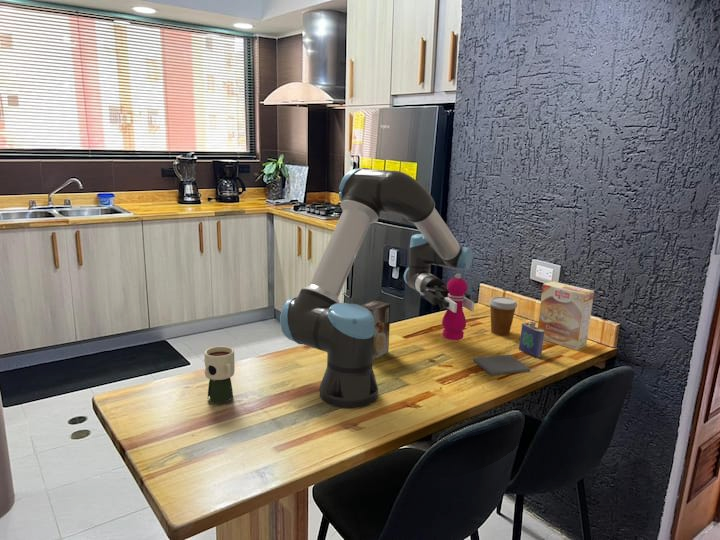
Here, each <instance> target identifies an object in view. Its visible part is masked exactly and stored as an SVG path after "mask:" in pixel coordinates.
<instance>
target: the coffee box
mask: <svg viewBox="0 0 720 540" xmlns="http://www.w3.org/2000/svg"><path fill="white" fill-rule="evenodd" d="M391 304H392V303H388V302H385V301H379V300H375V299H374V300H371V301H368V302H366V303H363V304H359V305H360V306H362V307H365V308H366V309H368V310H369V311H370V312H371V313H372V314H373V317H374V327H375V333H374V346H373V361H374V360H376V359H377V358H379V357H382V356H384V355H386V354H388V353H389V347H390V346H389V345H390V344H389V343H390V329H391V327H390V325H391V322H390V321H391Z"/></svg>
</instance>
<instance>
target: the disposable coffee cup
mask: <svg viewBox="0 0 720 540" xmlns="http://www.w3.org/2000/svg"><path fill="white" fill-rule="evenodd" d="M488 303H489V306H490V307H489V308H490V309H489V310H490V332H491V333H492V334H494V335H495V336H496V335H497V336H509V335H510V332H511V327H512V323H513V319H514V315H515V312H516V309H517V307H518V304H517V300H516V299H515V298H511V297H508V296H493V297H491V298H490V300H489V301H488Z"/></svg>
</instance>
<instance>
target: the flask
mask: <svg viewBox="0 0 720 540" xmlns="http://www.w3.org/2000/svg"><path fill="white" fill-rule="evenodd" d="M536 324H537V322H536V321H533V320H532V321H529V322H522V324H521V329H520V330H521V331H520V337H519V338H520V339H519V345H518V350H519V351H521V352H523V353H524V354H527V355H528V356H531V357H533V358H536V359H540V358H542V354H543V346H544V340H543V338H544V330H542V329H539V328H538V326H536Z"/></svg>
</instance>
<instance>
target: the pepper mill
mask: <svg viewBox="0 0 720 540" xmlns="http://www.w3.org/2000/svg"><path fill="white" fill-rule="evenodd" d="M446 287H447V290H448V291H449V293H448V298H449V299H450V300H452V301H454V302H455V303H457V310H456V312H455V313H454V312H452V311H451V310H449V309H448V308H447V310H446V312H445V313H444V315H443V316H442V317H443V318H442V320H441V326H442V327H443V328H444V329H443V330H442V337H443V338H445V339H446V340H451V341H460V340H463V339H464V334H465V333H464V331H463V330H464V329H465V328H466V327H467V319H466V316H465V313H464V309H463V308H464V307H463V306H462V303H463V300H464V299H465V298H464V297H465V295H464V293H467V291H468V284H467V282H466V280H464V279H462V275H461V273H459V272H458V273H456V274H455V275H454V278H451V279H450V280H449V281H447V284H446Z"/></svg>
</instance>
